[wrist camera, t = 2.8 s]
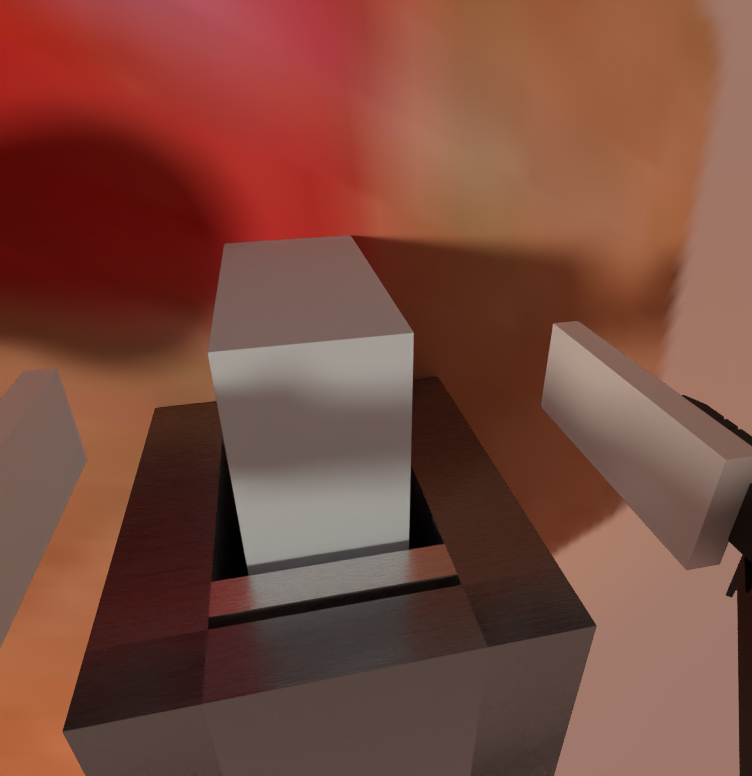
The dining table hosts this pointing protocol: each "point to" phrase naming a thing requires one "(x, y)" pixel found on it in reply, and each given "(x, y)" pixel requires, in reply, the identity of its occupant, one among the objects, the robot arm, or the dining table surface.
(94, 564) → the dining table surface
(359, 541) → the upright grey box
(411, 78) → the dining table surface
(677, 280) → the dining table surface
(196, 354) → the dining table surface
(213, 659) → the box
